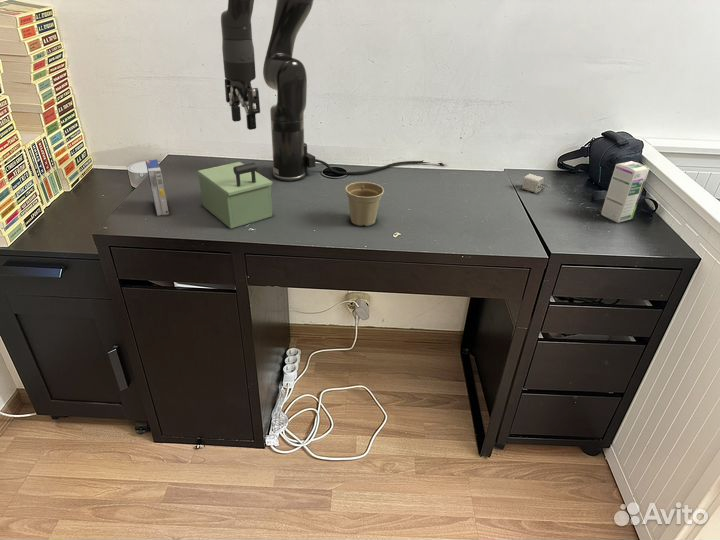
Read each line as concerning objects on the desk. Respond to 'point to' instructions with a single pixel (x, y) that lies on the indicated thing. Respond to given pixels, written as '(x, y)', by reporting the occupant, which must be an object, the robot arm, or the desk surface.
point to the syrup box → (624, 191)
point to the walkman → (157, 187)
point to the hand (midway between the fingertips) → (244, 124)
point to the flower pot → (364, 202)
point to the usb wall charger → (534, 183)
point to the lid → (235, 177)
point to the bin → (236, 204)
